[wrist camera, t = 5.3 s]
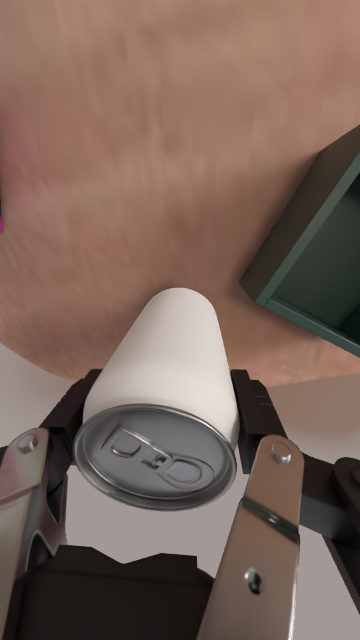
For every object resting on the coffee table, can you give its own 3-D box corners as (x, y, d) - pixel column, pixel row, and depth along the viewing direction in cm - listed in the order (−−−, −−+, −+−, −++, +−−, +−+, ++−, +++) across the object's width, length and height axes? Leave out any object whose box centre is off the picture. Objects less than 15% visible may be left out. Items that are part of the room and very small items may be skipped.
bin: (238, 282, 22) (254, 302, 16) (322, 149, 17) (394, 100, 11) (334, 333, 23) (384, 370, 17) (437, 223, 18) (560, 218, 12)
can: (189, 364, 20) (179, 535, 9) (130, 329, 19) (35, 473, 8) (232, 313, 17) (295, 461, 6) (168, 270, 16) (107, 355, 5)
